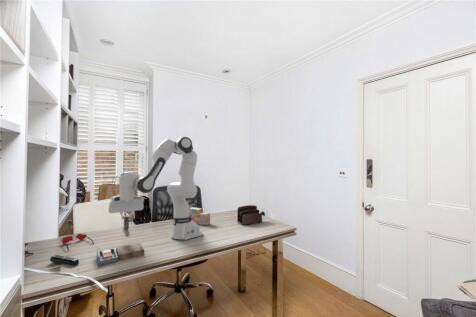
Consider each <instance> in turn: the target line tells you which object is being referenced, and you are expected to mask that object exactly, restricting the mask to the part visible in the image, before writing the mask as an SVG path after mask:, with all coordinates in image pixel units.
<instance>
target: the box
mask: <svg viewBox="0 0 476 317" xmlns="http://www.w3.org/2000/svg"><path fill="white" fill-rule="evenodd" d="M105 250H111V253H112V255H113V256H112V258H109V259H104V260H103V257H102V251H105ZM96 260H97V266H98V267H100V266H105V265H111V264H114V263H118V262H119V260H118V255H117V253H116V247H114V248H113V247H112V248H107V249H103V250H100V249H99V246H97V247H96Z"/></svg>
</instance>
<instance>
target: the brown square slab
mask: <svg viewBox="0 0 476 317" xmlns="http://www.w3.org/2000/svg"><path fill="white" fill-rule="evenodd" d="M115 250H116V253H117V255H118V261H123V260H128V259H132V258H137V257H141V256H144V255H145V249H144V247H143V245H142V244H141V243H140V242H139V243H134V244H129V245H124V246H119V247H115Z"/></svg>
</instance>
